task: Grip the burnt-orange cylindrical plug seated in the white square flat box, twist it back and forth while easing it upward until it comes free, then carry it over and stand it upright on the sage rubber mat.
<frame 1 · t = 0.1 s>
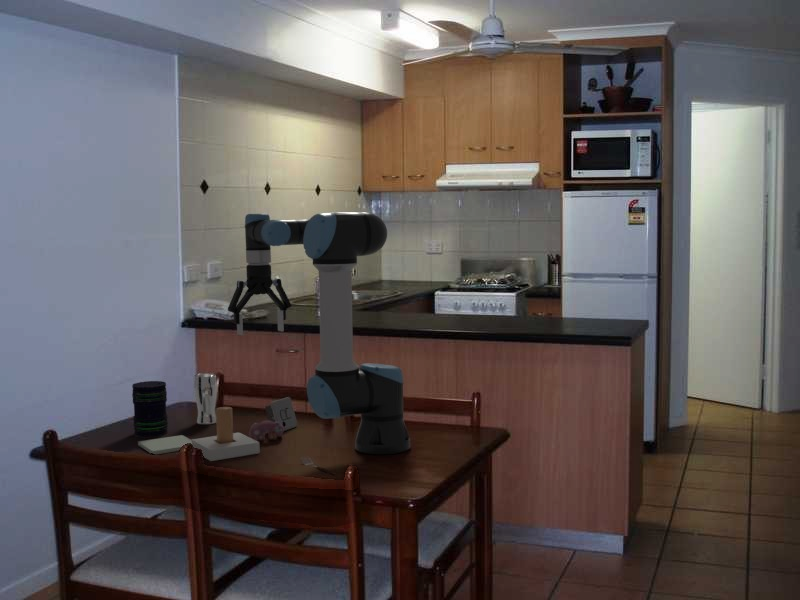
hand: (260, 332, 289), 28 cm above the table, fingers open, 13 cm apart
white square flat box: (225, 451, 256), on the table
plug: (224, 430, 256), in the white square flat box
fork: (319, 470, 238), on the table
mat: (168, 446, 263), on the table
storage jar: (151, 434, 279), on the table
pink animal figurine: (266, 440, 269), on the table
electrical switch: (281, 429, 282), on the table
beer glass: (207, 423, 292), on the table
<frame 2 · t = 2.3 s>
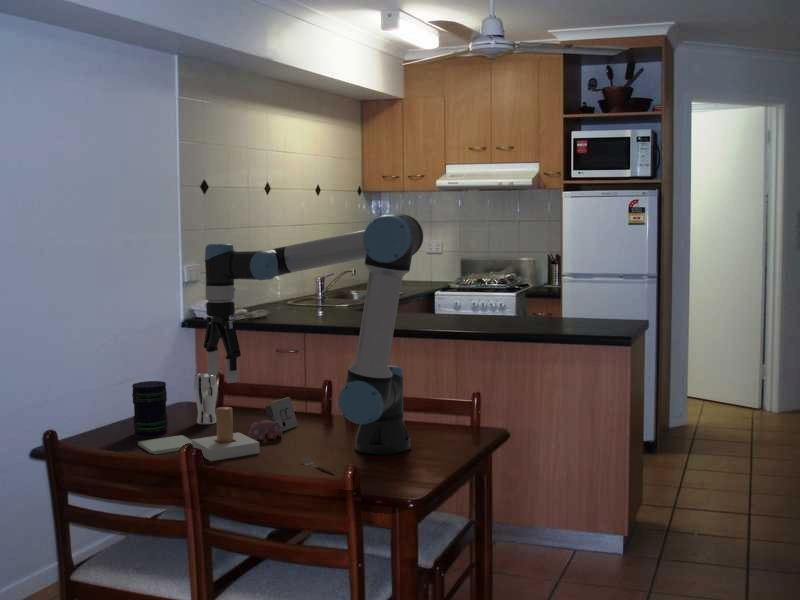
hand: (222, 378, 254), 20 cm above the table, fingers open, 13 cm apart
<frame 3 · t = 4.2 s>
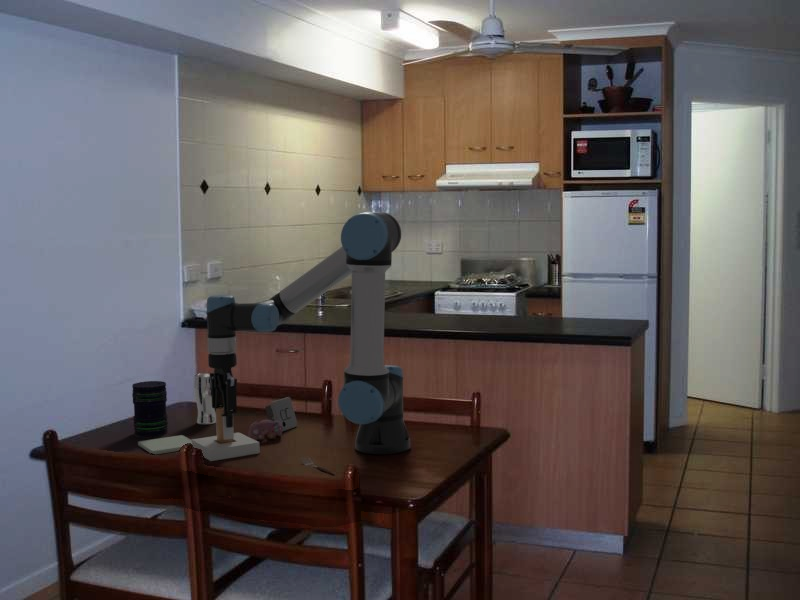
hand: (225, 436, 256), 4 cm above the table, fingers closed on plug, 4 cm apart
plug: (224, 430, 256), in the white square flat box, touching gripper
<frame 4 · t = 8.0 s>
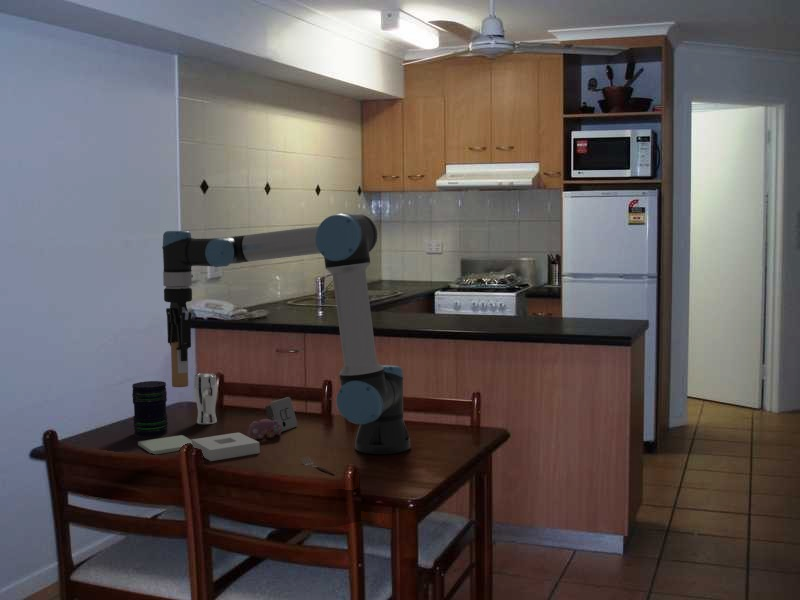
hand: (179, 371, 259), 22 cm above the table, fingers closed on plug, 4 cm apart
plug: (179, 364, 259), point 24 cm above the table, touching gripper
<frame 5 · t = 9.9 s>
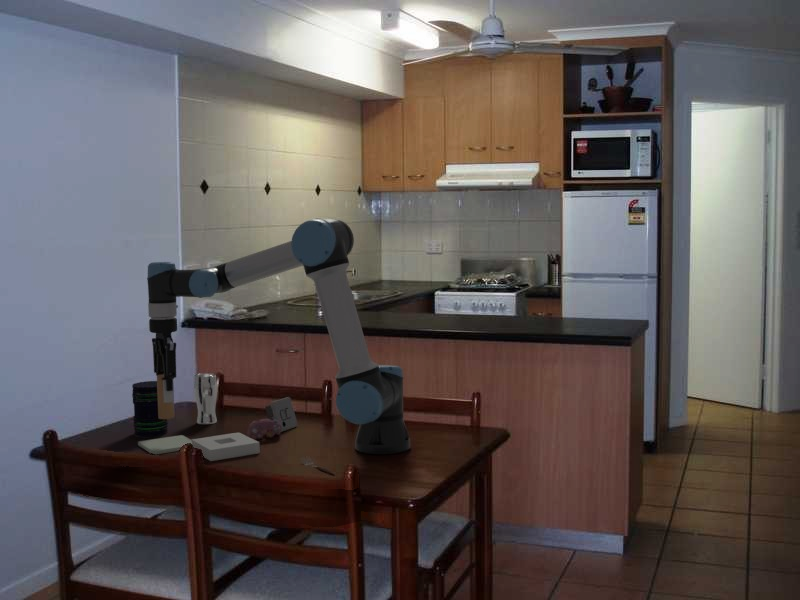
hand: (165, 400, 262), 13 cm above the table, fingers closed on plug, 4 cm apart
plug: (165, 396, 262), point 14 cm above the table, touching gripper
when the fingers open (7 cm above the table, at t = 11.7 s): plug stays where it is, resting on mat.
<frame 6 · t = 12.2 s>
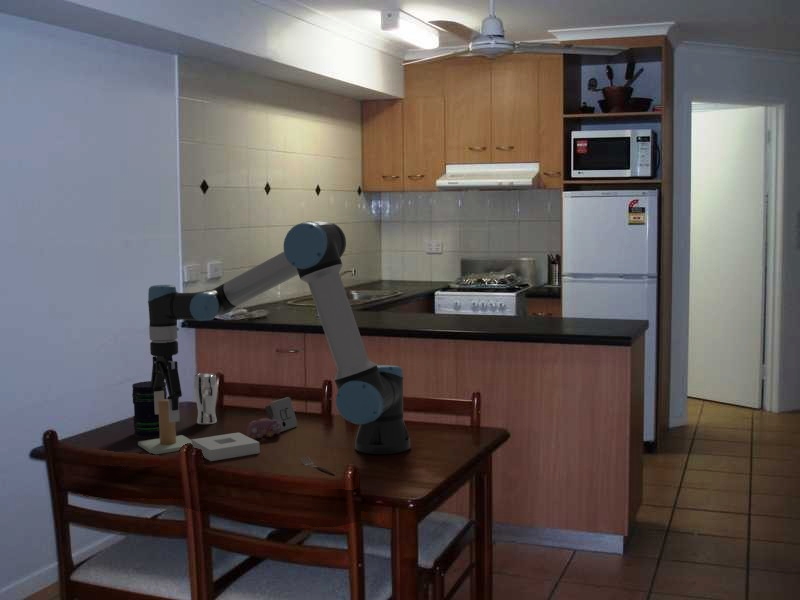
hand: (167, 417, 262), 8 cm above the table, fingers open, 11 cm apart
plug: (167, 421, 262), on the mat, point 7 cm above the table
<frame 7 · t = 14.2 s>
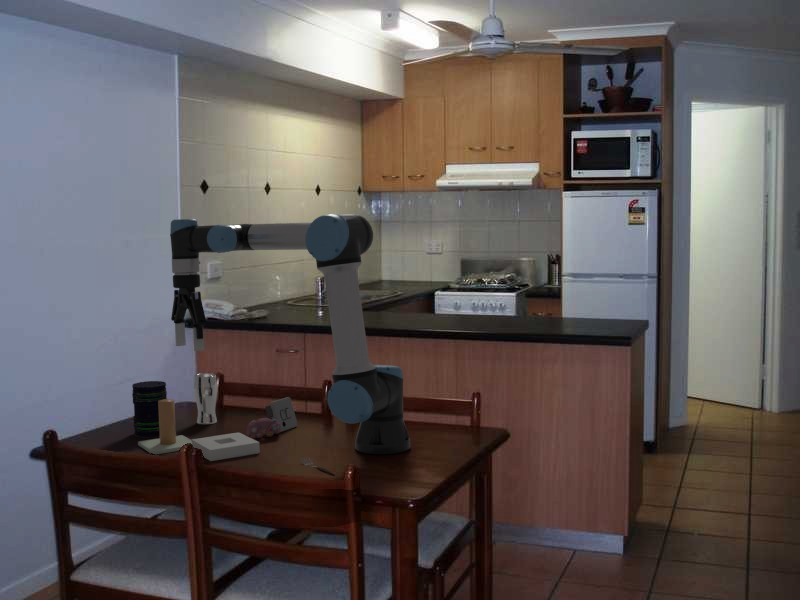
hand: (189, 348, 267), 27 cm above the table, fingers open, 13 cm apart
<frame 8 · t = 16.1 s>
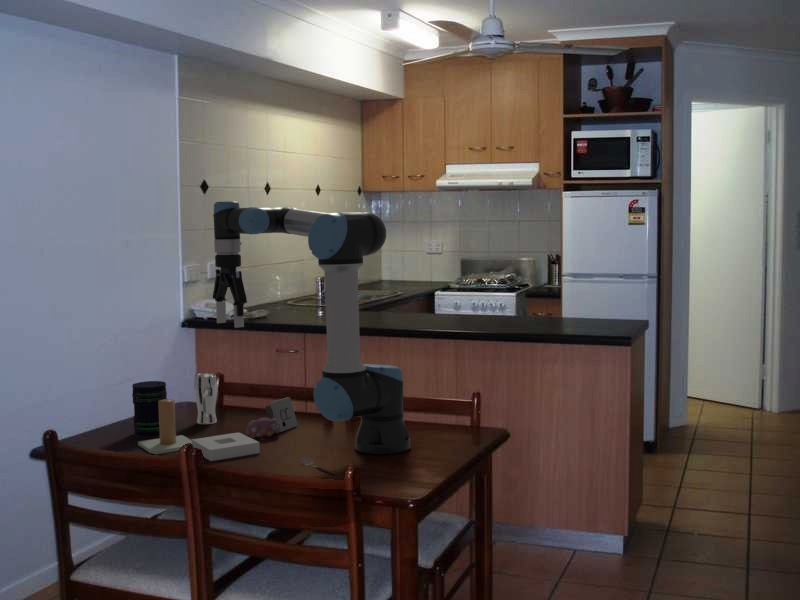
hand: (230, 325, 279), 32 cm above the table, fingers open, 13 cm apart
at the end: plug inside the target area on the mat (0.0 cm from its centre), point 7.0 cm above the mat's base; plug tilted 1°; the gripper is holding nothing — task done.
